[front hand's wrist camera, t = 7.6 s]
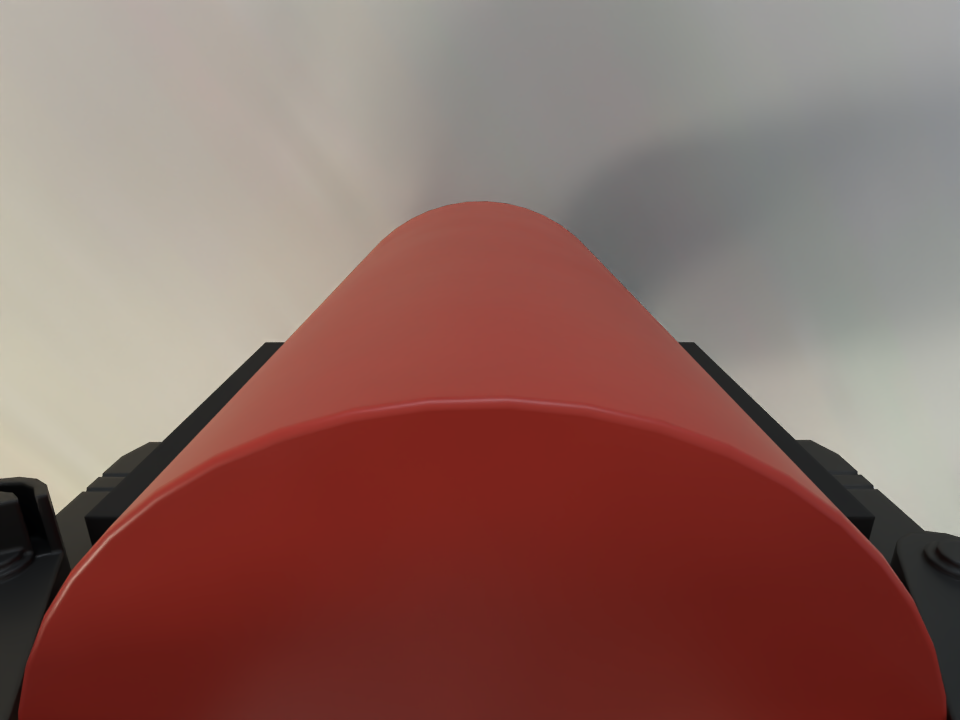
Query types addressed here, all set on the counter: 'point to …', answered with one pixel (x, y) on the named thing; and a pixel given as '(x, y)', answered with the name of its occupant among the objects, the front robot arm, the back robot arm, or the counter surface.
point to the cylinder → (482, 525)
